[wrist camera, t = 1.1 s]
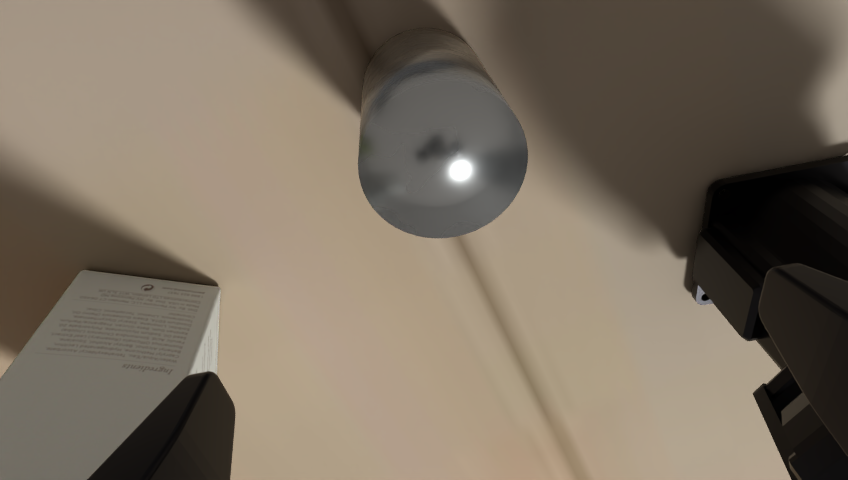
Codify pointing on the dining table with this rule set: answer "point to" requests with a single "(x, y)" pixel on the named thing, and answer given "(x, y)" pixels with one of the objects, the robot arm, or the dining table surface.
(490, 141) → the cylinder
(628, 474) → the dining table surface
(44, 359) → the small box
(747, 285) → the robot arm
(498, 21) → the dining table surface
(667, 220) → the dining table surface
